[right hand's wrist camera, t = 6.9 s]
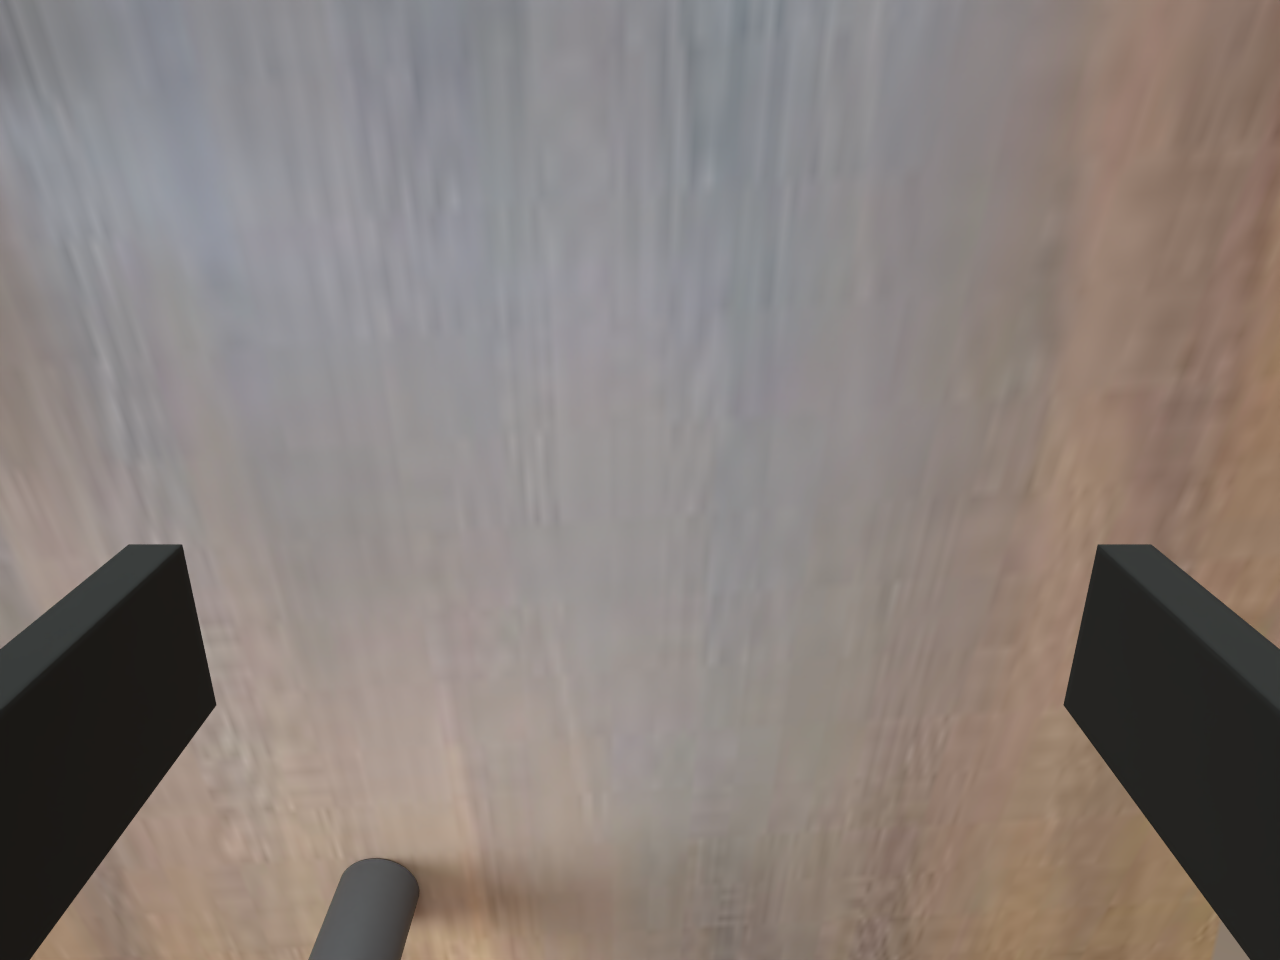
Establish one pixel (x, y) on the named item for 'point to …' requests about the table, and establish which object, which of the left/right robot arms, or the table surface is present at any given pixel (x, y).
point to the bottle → (368, 913)
